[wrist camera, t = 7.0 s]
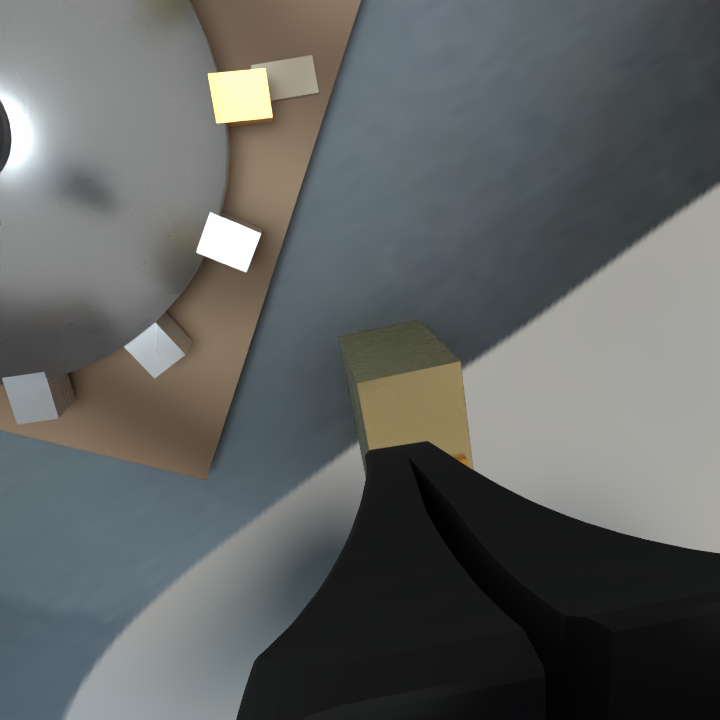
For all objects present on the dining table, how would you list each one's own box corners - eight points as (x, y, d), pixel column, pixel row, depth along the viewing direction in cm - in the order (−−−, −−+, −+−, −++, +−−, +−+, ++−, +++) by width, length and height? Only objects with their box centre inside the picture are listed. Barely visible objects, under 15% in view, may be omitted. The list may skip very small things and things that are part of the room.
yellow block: (442, 483, 23) (486, 566, 18) (370, 499, 23) (395, 588, 18) (418, 319, 21) (462, 363, 16) (338, 335, 20) (357, 385, 16)
